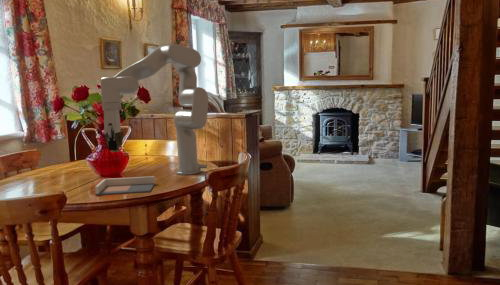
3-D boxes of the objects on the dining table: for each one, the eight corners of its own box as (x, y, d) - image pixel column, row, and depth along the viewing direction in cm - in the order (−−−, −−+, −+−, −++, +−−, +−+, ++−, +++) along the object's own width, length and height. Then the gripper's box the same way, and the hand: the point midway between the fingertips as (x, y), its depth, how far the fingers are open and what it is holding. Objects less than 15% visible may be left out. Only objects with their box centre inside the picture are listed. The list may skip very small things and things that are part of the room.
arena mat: (154, 184, 194) (154, 182, 194) (150, 192, 179) (150, 190, 179) (104, 186, 192) (104, 185, 192) (95, 195, 177) (95, 193, 177)
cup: (108, 150, 187) (107, 132, 186) (126, 150, 188) (124, 131, 187) (103, 153, 180) (102, 134, 179) (121, 152, 180) (120, 133, 179)
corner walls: (154, 182, 194) (154, 176, 193) (150, 190, 179) (149, 183, 179) (104, 185, 192) (103, 179, 192) (95, 193, 177) (94, 186, 177)
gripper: (107, 106, 190) (110, 146, 192) (97, 108, 172) (100, 152, 175) (124, 105, 190) (127, 145, 192) (116, 107, 173) (119, 151, 175)
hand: (114, 148), depth 184 cm, fingers closed on cup, 6 cm apart
